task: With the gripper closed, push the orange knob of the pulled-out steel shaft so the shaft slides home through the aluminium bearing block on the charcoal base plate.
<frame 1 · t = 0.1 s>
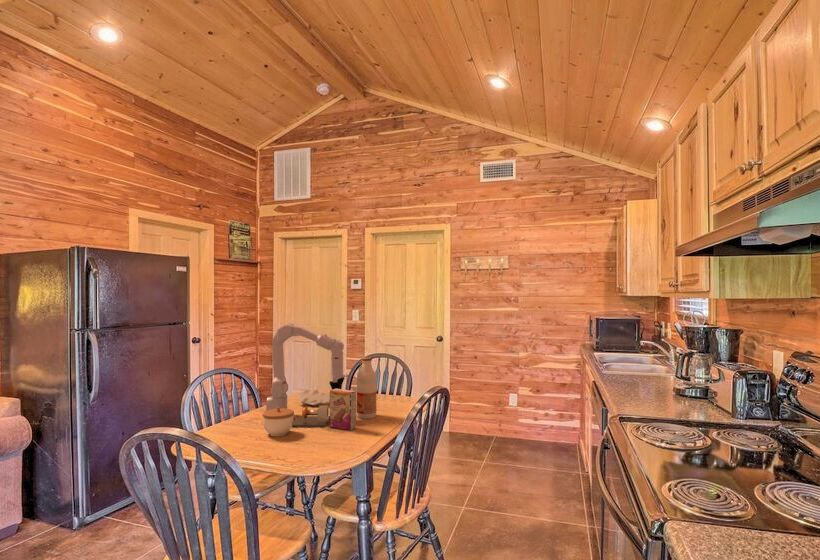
hand: (337, 394, 224), 10 cm above the table, tool pointing down, fingers open, 7 cm apart
fruit juice: (366, 416, 222), on the table
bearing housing: (314, 422, 212), on the table
food container: (324, 406, 243), on the table
candy bar box: (342, 428, 204), on the table
shaft: (313, 412, 212), point 4 cm above the table, slide at 5.0 cm
lidded bowl: (278, 434, 196), on the table
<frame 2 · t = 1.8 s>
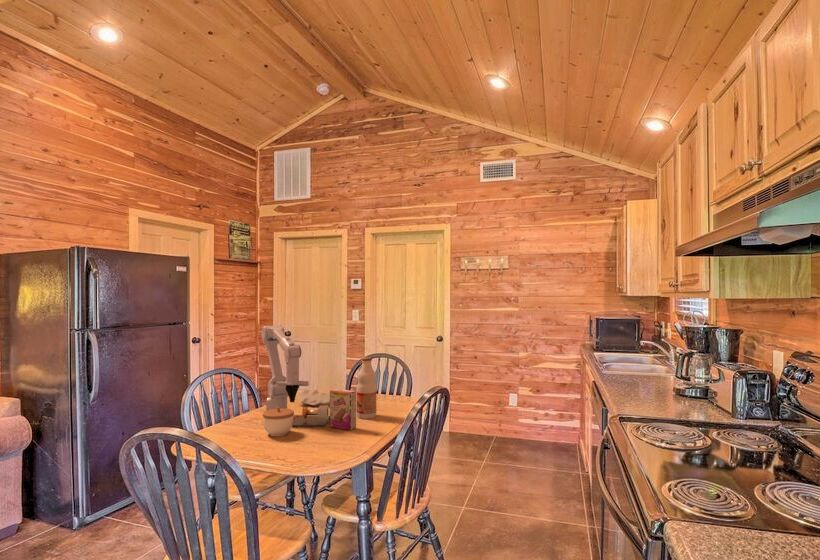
hand: (292, 401, 212), 9 cm above the table, tool pointing down, fingers closed
nothing on the table moved.
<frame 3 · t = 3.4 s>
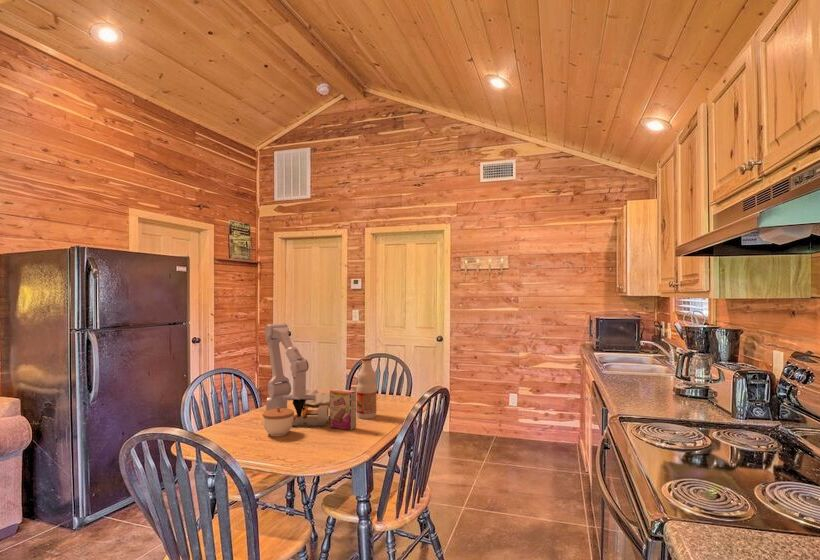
hand: (299, 416, 212), 3 cm above the table, tool pointing down, fingers closed
shaft: (313, 412, 212), point 4 cm above the table, slide at 5.0 cm, touching gripper
everything else where it was.
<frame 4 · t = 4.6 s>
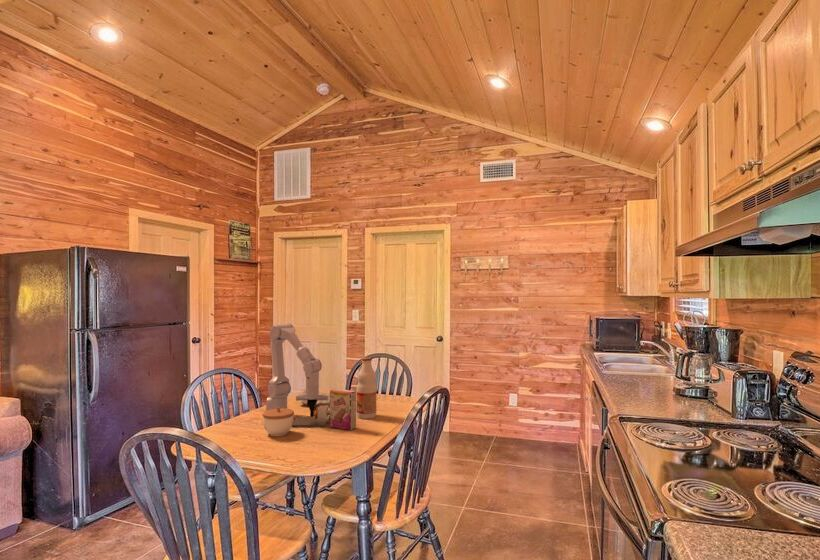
hand: (312, 416, 212), 3 cm above the table, tool pointing down, fingers closed
shaft: (324, 412, 212), point 4 cm above the table, slide at -0.2 cm, touching gripper
everything else where it was.
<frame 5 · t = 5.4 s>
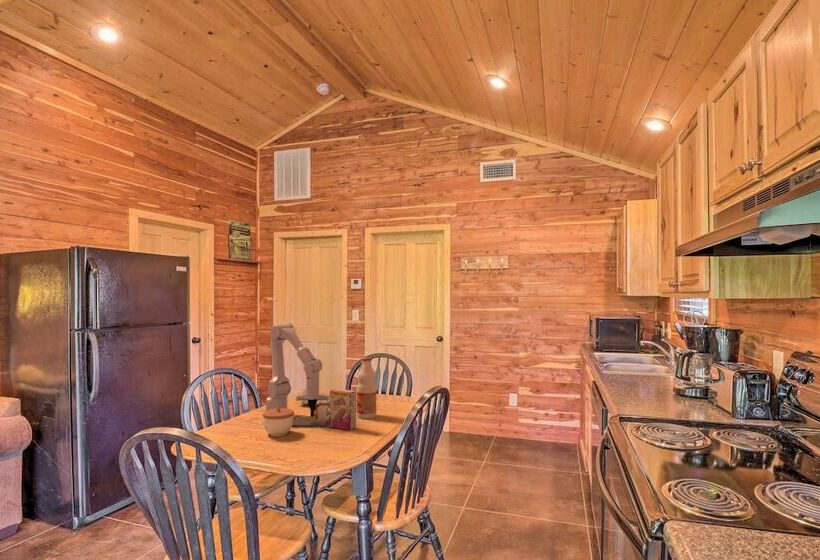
hand: (312, 416, 212), 3 cm above the table, tool pointing down, fingers closed
nothing on the table moved.
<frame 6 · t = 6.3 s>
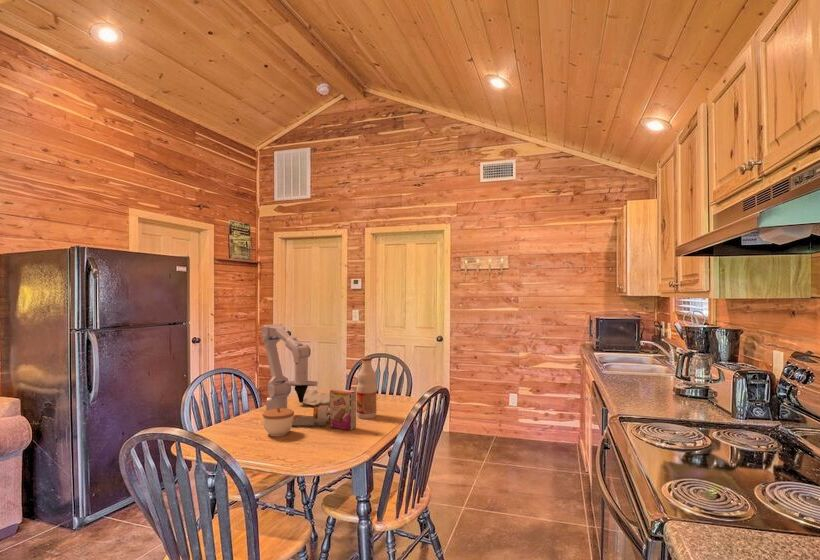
hand: (301, 402, 212), 9 cm above the table, tool pointing down, fingers closed
shaft: (324, 412, 212), point 4 cm above the table, slide at 0.0 cm
everything else where it was.
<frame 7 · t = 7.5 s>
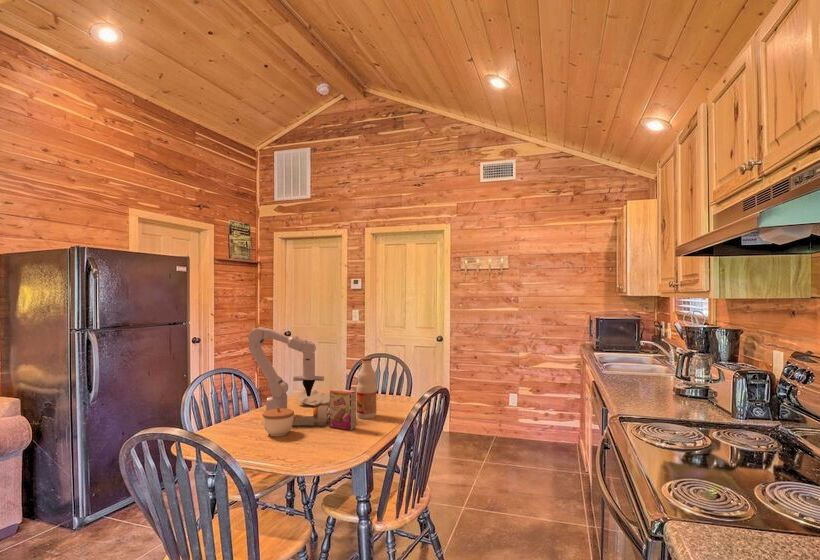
hand: (308, 395, 224), 9 cm above the table, tool pointing down, fingers closed
nothing on the table moved.
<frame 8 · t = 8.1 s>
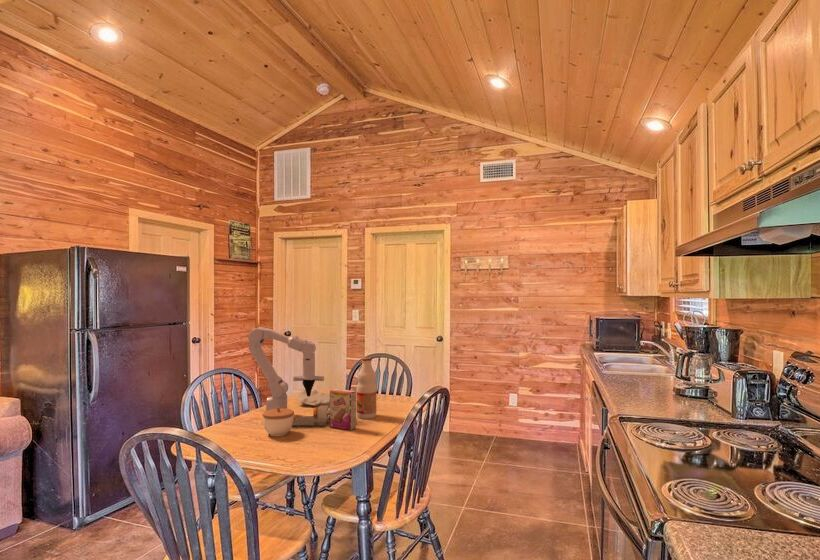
hand: (308, 395, 224), 9 cm above the table, tool pointing down, fingers closed
nothing on the table moved.
at the end: shaft slide at 0.0 cm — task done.
